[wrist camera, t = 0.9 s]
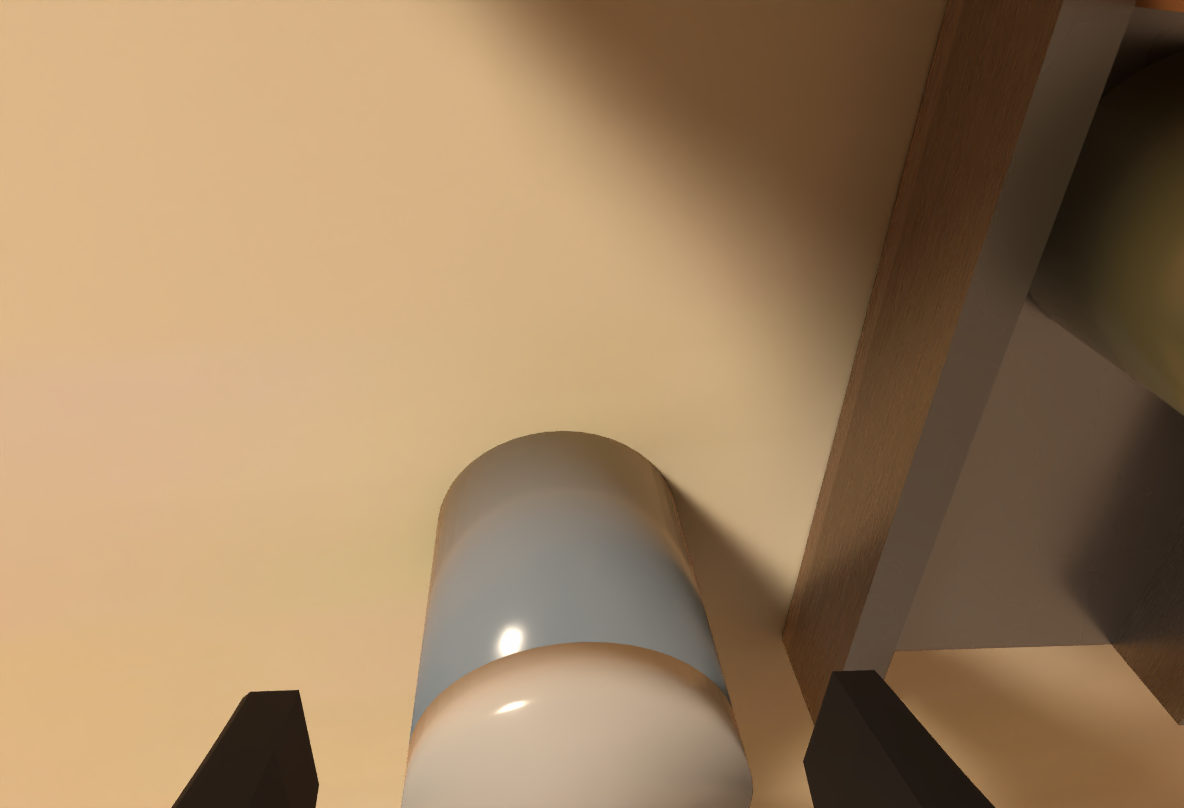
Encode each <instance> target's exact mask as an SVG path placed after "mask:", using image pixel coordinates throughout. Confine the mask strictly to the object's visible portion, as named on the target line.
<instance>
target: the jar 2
mask: <svg viewBox="0 0 1184 808" xmlns="http://www.w3.org/2000/svg"><path fill="white" fill-rule="evenodd" d="M1029 291H1030V293H1031V295H1032V297H1033V299H1034V301H1035V302H1036V304H1037V305H1038V306H1039V307H1040V309H1041V310H1042V311H1043V312H1044V313H1045V314H1046V315H1047V316H1048V317H1049V318H1050V319H1052V320H1053V321H1054V322H1055V323H1057V324H1058V325H1059V326H1061V327H1062V328H1064V329H1065V330H1066V331H1068V332H1069V333H1070V334H1072V335H1073V336H1075V337H1076V338H1077V339H1079V340H1080V341H1081V342H1083V343H1084V344H1086V345H1087V346H1088V347H1090V348H1091V349H1092V350H1094V351H1095V352H1097V353H1098V354H1099V355H1101V356H1102V357H1103V358H1105V359H1106V360H1108V361H1109V362H1110V363H1112V364H1113V365H1114V366H1116V367H1117V368H1119V369H1120V370H1121V371H1123V372H1124V373H1125V374H1127V375H1128V376H1130V377H1131V378H1132V379H1134V380H1135V381H1136V382H1138V383H1139V384H1141V385H1142V386H1143V387H1145V388H1146V389H1147V390H1149V391H1150V392H1152V393H1153V394H1154V395H1156V396H1157V397H1158V398H1160V399H1161V400H1163V401H1164V402H1165V403H1167V404H1168V405H1169V406H1171V407H1172V408H1174V409H1175V410H1176V411H1178V412H1179V413H1180V414H1182V415H1183V416H1184V51H1181V52H1178V53H1176V54H1173V55H1171V56H1169V57H1166V58H1164V59H1162V60H1159V61H1157V62H1155V63H1153V64H1151V65H1149V66H1148V67H1146V68H1144V69H1142V70H1141V71H1139V72H1137V73H1135V74H1134V75H1132V76H1131V77H1129V78H1128V79H1126V80H1125V81H1124V82H1122V83H1121V84H1119V85H1118V86H1116V87H1115V88H1114V89H1112V90H1111V91H1110V92H1109V93H1108V94H1106V95H1105V96H1104V97H1103V98H1102V99H1101V100H1100V101H1099V103H1098V106H1097V109H1096V111H1095V114H1094V117H1093V119H1092V122H1091V125H1090V127H1089V130H1088V133H1087V135H1086V138H1085V141H1084V143H1083V146H1082V149H1081V152H1080V154H1079V157H1078V160H1077V162H1076V165H1075V168H1074V170H1073V173H1072V176H1071V178H1070V181H1069V184H1068V186H1067V189H1066V192H1065V194H1064V197H1063V200H1062V203H1061V205H1060V208H1059V211H1058V213H1057V216H1056V219H1055V221H1054V224H1053V227H1052V229H1051V232H1050V235H1049V237H1048V240H1047V243H1046V245H1045V248H1044V251H1043V254H1042V256H1041V259H1040V262H1039V264H1038V267H1037V270H1036V272H1035V275H1034V278H1033V280H1032V283H1031V286H1030V288H1029Z"/></svg>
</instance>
